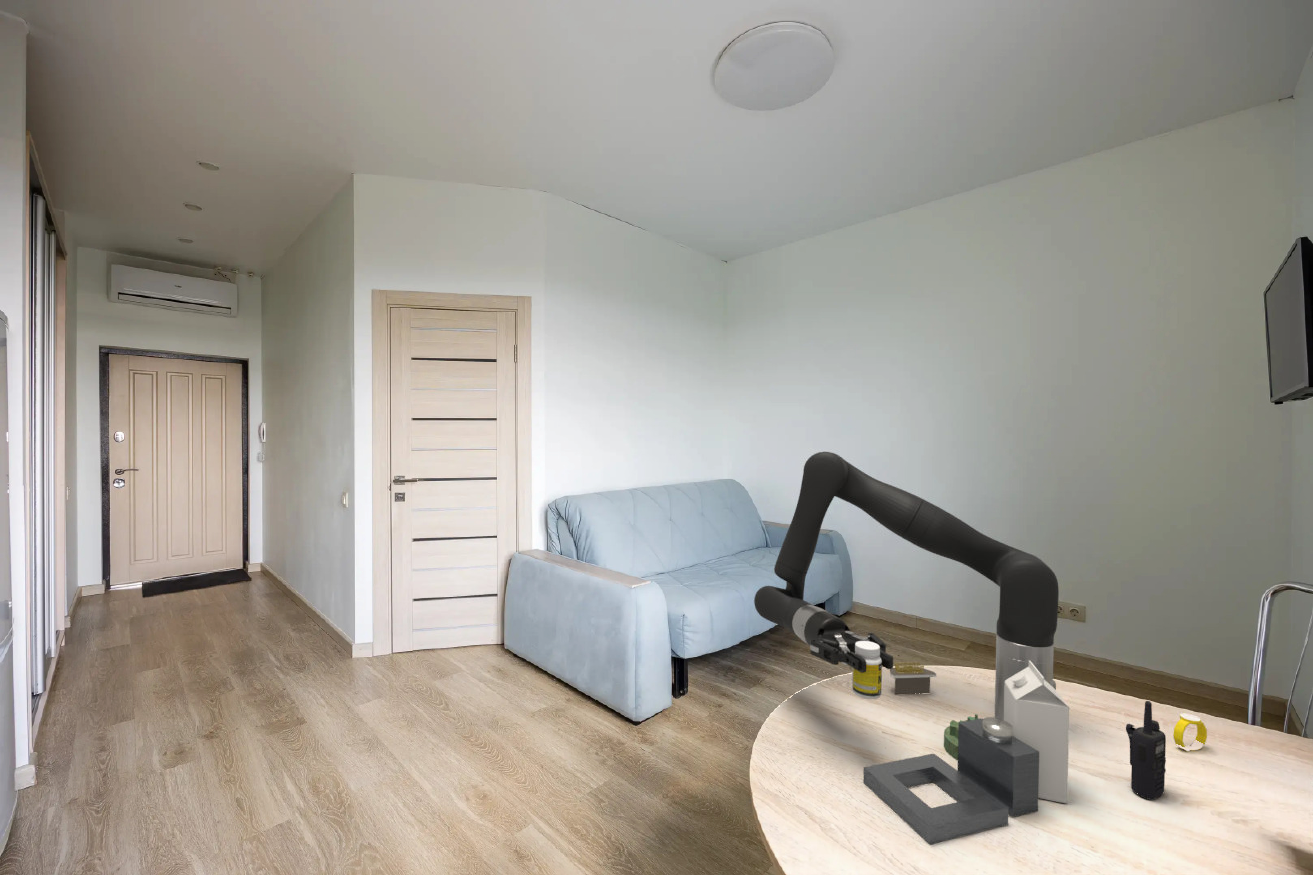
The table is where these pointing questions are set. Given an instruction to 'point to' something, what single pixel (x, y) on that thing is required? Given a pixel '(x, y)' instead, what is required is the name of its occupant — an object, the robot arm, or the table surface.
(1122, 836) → the table surface
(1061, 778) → the milk carton
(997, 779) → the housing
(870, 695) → the supplement bottle
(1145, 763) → the two-way radio
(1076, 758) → the table surface
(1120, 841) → the table surface
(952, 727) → the decorative artifact
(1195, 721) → the watch
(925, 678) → the platform
